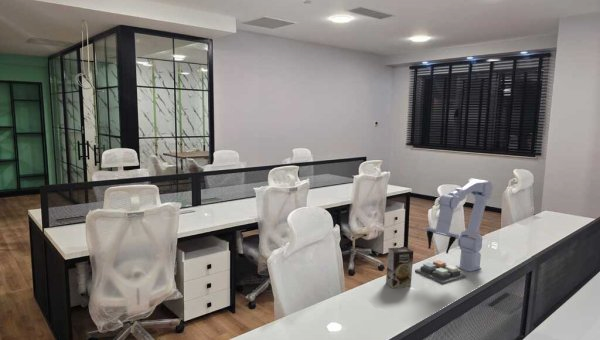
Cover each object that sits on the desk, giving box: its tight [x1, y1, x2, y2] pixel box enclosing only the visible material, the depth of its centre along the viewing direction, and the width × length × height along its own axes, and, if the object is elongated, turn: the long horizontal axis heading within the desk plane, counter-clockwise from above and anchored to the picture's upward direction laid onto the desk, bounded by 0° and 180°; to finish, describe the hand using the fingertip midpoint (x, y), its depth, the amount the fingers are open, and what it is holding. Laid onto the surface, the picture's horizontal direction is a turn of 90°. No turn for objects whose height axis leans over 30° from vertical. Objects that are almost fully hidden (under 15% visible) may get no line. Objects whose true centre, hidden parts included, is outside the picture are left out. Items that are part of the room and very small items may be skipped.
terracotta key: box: [432, 260, 447, 267], centre depth 195 cm, size 4×4×2 cm
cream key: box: [445, 264, 459, 273], centre depth 189 cm, size 4×4×2 cm
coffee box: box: [385, 246, 414, 289], centre depth 177 cm, size 9×6×16 cm
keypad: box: [414, 264, 467, 285], centre depth 191 cm, size 16×16×3 cm
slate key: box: [422, 262, 436, 270], centre depth 192 cm, size 4×4×2 cm
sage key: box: [435, 268, 448, 275], centre depth 186 cm, size 4×4×2 cm
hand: (438, 250), depth 183 cm, fingers open, 7 cm apart
